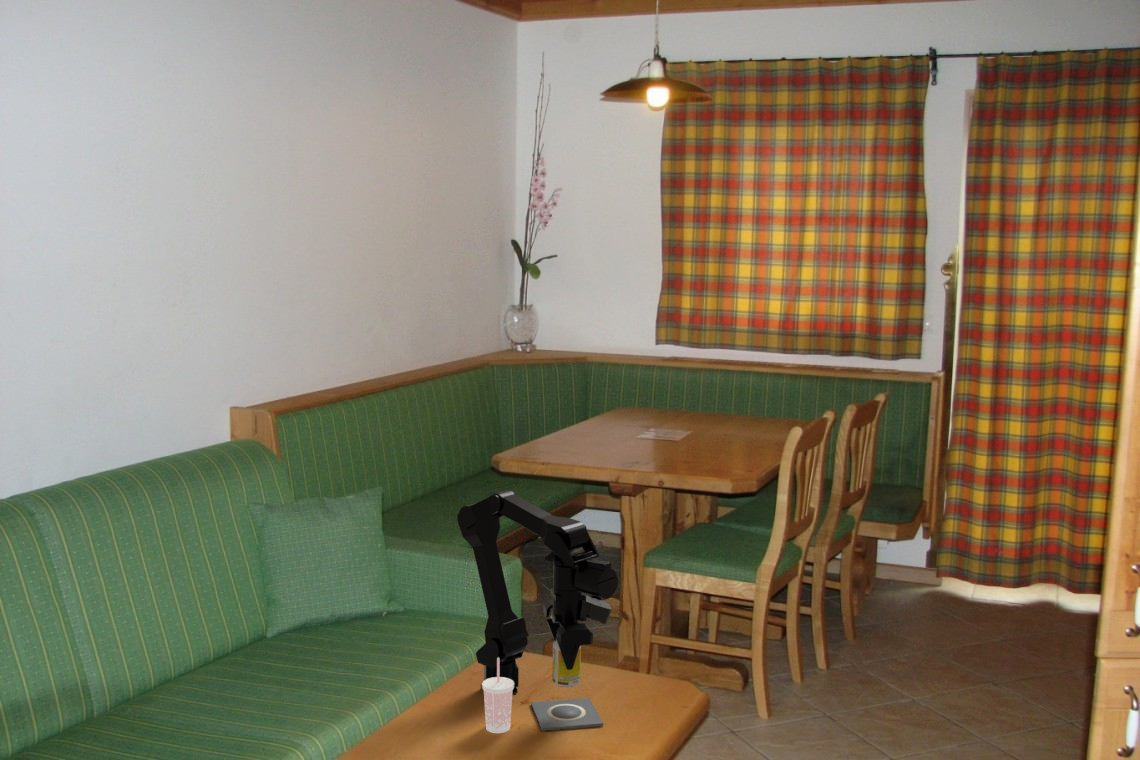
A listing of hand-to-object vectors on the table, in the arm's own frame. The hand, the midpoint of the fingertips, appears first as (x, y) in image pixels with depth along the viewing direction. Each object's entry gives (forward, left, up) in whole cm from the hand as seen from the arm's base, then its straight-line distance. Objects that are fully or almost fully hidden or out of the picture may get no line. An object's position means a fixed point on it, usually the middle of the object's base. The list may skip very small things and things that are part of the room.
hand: (566, 663), depth 215 cm
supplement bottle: (0, 0, -4) cm, 4 cm away
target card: (0, 0, -11) cm, 11 cm away
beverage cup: (-14, -3, -11) cm, 18 cm away
